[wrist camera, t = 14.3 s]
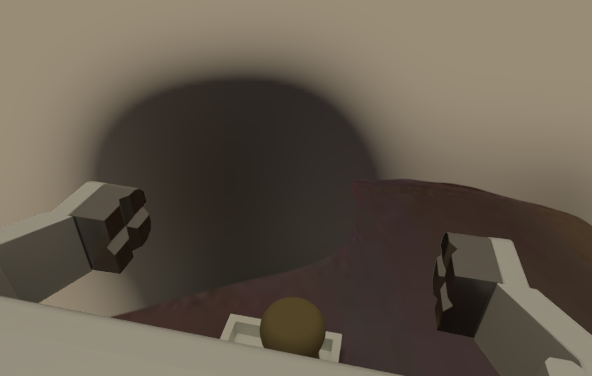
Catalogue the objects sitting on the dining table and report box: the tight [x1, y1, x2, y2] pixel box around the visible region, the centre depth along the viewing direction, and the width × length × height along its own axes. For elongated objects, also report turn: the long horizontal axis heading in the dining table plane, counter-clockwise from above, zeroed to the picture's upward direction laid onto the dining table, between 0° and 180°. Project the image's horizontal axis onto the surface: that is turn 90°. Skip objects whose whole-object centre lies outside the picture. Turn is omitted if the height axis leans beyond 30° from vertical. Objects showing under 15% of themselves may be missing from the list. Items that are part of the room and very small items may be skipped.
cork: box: [260, 297, 326, 359], centre depth 34 cm, size 6×6×11 cm
